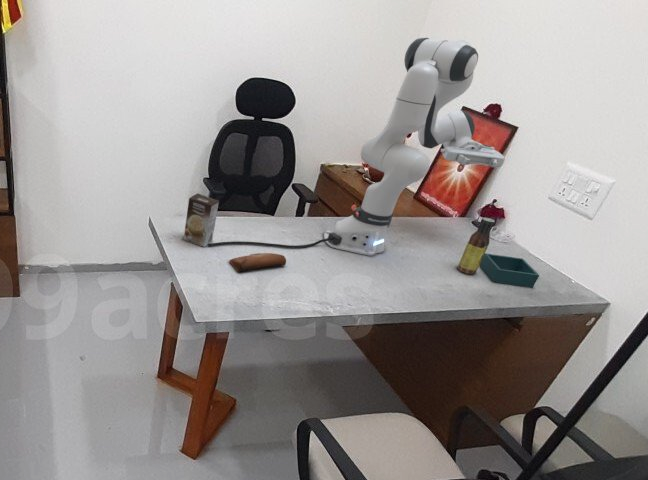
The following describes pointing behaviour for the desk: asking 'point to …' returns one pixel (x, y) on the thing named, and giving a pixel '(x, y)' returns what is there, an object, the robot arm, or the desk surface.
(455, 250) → the desk surface
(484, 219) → the sauce bottle
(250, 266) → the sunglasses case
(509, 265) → the teal open box
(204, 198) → the coffee box
